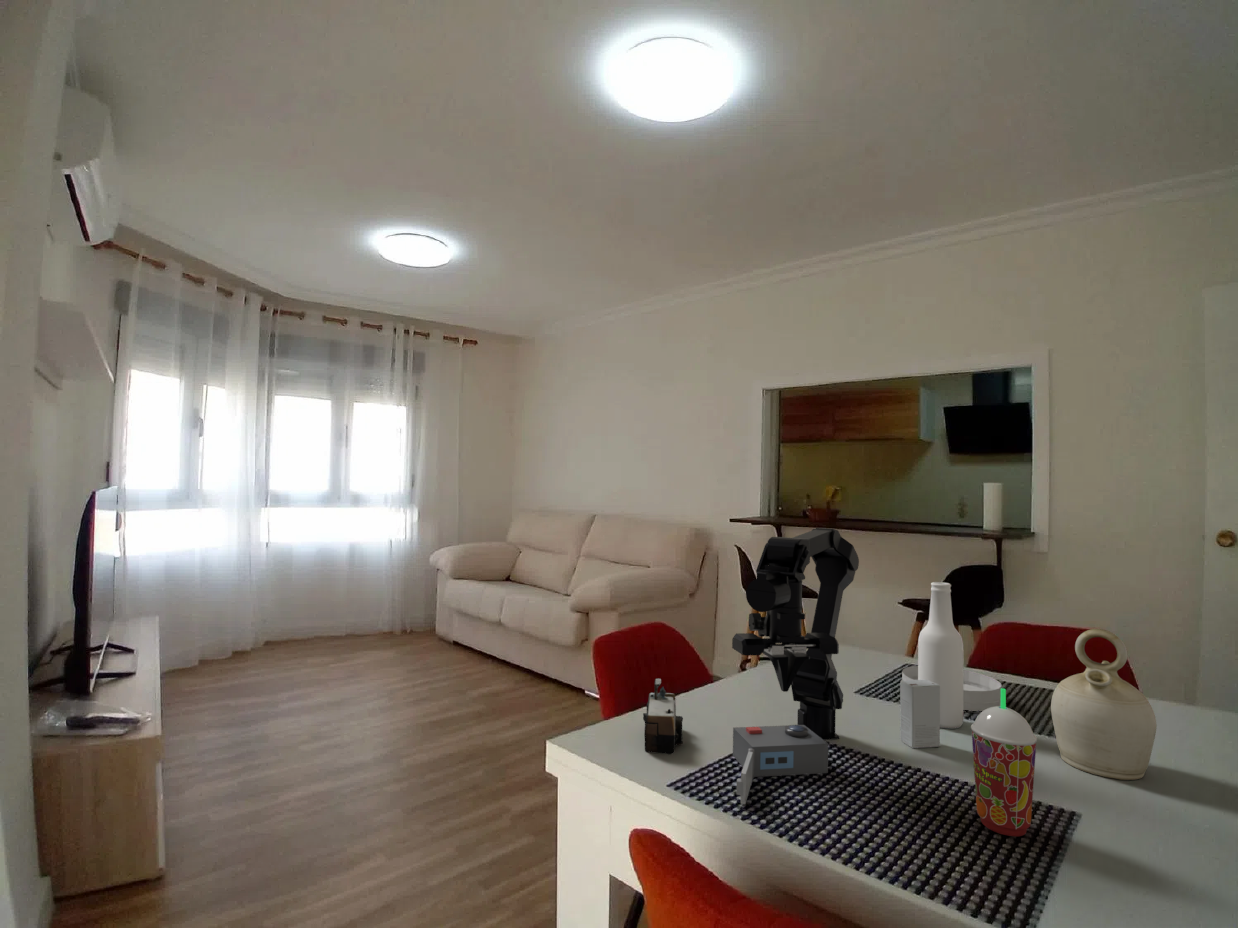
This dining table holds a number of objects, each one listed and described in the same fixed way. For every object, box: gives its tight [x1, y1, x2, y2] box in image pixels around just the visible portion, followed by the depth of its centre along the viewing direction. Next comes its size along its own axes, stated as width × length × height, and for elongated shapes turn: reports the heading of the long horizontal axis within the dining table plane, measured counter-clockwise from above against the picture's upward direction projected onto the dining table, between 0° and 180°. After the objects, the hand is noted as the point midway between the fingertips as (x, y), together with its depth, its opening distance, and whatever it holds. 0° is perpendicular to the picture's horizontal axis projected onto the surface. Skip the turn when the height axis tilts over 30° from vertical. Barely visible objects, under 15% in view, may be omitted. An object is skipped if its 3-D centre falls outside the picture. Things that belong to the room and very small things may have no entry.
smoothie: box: [970, 688, 1038, 837], centre depth 93 cm, size 8×8×20 cm
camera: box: [642, 678, 684, 755], centre depth 123 cm, size 15×8×10 cm, turn 173°
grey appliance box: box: [732, 724, 829, 778], centre depth 112 cm, size 14×9×6 cm, turn 100°
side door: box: [735, 748, 755, 805], centre depth 102 cm, size 10×2×5 cm, turn 161°
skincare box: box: [899, 679, 941, 749], centre depth 124 cm, size 6×4×12 cm
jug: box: [1050, 628, 1158, 781], centre depth 116 cm, size 15×16×25 cm
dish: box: [901, 665, 1003, 711], centre depth 155 cm, size 22×22×5 cm
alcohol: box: [917, 581, 965, 730], centre depth 137 cm, size 9×9×30 cm
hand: (784, 690), depth 116 cm, fingers closed
